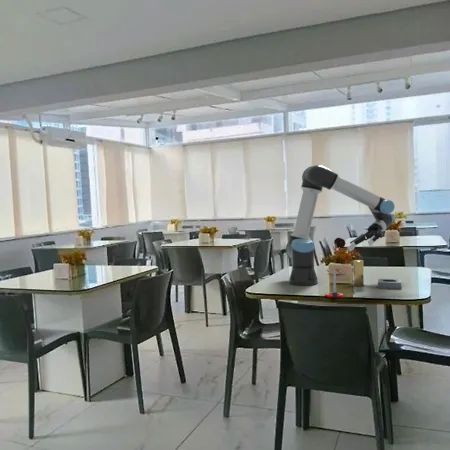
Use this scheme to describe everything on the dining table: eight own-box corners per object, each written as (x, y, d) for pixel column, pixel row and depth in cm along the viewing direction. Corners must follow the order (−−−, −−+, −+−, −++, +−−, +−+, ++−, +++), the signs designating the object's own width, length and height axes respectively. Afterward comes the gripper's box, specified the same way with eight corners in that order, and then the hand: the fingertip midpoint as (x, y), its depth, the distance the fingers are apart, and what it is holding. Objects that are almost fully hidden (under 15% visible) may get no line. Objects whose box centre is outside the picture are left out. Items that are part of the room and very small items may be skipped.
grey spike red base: (324, 295, 229) (325, 298, 220) (324, 268, 229) (325, 270, 220) (342, 295, 228) (344, 298, 219) (342, 267, 228) (344, 270, 218)
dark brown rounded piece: (326, 268, 307) (325, 237, 305) (349, 268, 306) (349, 236, 305) (330, 272, 292) (329, 239, 291) (354, 271, 291) (354, 238, 290)
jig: (377, 288, 239) (377, 282, 239) (378, 284, 248) (378, 278, 248) (401, 288, 235) (401, 282, 235) (401, 285, 245) (401, 279, 245)
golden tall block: (353, 286, 245) (352, 261, 244) (354, 284, 249) (353, 260, 248) (363, 287, 243) (363, 261, 242) (364, 285, 248) (363, 260, 247)
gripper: (399, 228, 258) (381, 247, 244) (362, 240, 277) (344, 257, 263) (392, 216, 257) (374, 234, 244) (355, 228, 276) (337, 245, 263)
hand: (358, 246), depth 254 cm, fingers open, 13 cm apart
